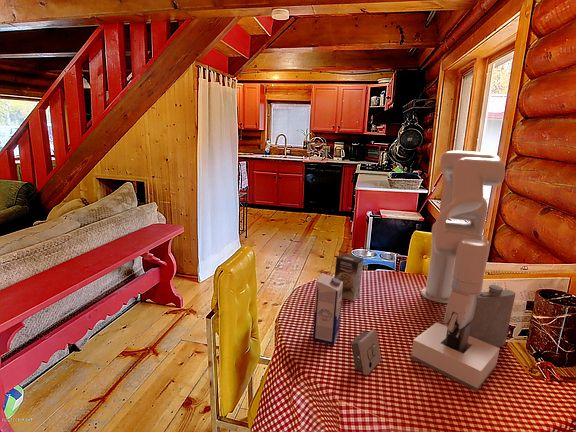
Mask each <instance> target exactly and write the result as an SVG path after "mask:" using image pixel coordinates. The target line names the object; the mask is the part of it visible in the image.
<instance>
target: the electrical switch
mask: <svg viewBox="0 0 576 432" xmlns="http://www.w3.org/2000/svg"><path fill="white" fill-rule="evenodd" d="M350 347H351V352H352V358H353V363H354V369H355V370H357V371H360V372H362V374H363V375H364V376H368V375H369V374H370V373H371V372H373V370H374V368H376V367H377V366H378V364H380V362H381V361H382V357H381V356H382V354H381V351H380V345H379V338H378V332H377V330H376V329H371V330H370V331H362V332H361V333H360V334H359V335H357V336H356V337H355V338H354V339H353V340H352V341H351V342H350Z"/></svg>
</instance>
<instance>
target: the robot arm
mask: <svg viewBox="0 0 576 432" xmlns="http://www.w3.org/2000/svg"><path fill="white" fill-rule="evenodd" d="M503 161H504V160H502V158H501V157H500V156H498V155H497V154H496V153H495V152H494V153H493V152H481V151H468V150H467V151H466V150H449V151H448V150H447V151H446V152H444V153H442V155H441V157H440V164H439V165H440V170H441V174H442V177H443V178H442V179H443V183H442V184H443V185H442V191H441V197H440V203H439V213H438V215H437V216H436V217H437V218H436V221H435V222H434V223H433V224H432V227H431V250H430V256H429V257H430V258H429V265H428V271H427V272H428V273H427V277H426V278H427V279H426V284H425V285H426V286H425V287H424V288H422V289H421V293H420V294H421V295H422V296H423V298H425V299H427V300H428V301H432V302H435V303H440V304H447V305H446V309H445V314H444V318H443V323H445V324H448V322H449V321H450V323H449V326H448V325H447V327H448V328H447V330H448V338H447V344H446V345H447V346H448V347H450V348H452V349H455V350H459V345H460V339H461V337H460V333H461V329H462V328H463V327H465V326H466V325H467V324H468V323H469V322H470V321H471V320H472V319H473V317H474V314H475V310H476V304H477V296H478V295H480V294H481V292H482V290H483V284H484V278H485V273H486V269H487V262H488V257H489V251H490V241H489V240H488V238H487V237H486V236H485V235H483V234H484V233H483V232H484V228H485V223H486V220H487V219H486V218H487V214H488V202H487V200H486V198H484V186H487V187H488V186H489V187H491V186H492V187H498V186H500V185H501V184H502V183H503V182H504V180H505V178H506V177H505V176H506V167H505V163H504V162H503ZM450 219H451V220H450ZM455 220H456V221H455ZM457 220H458V221H457ZM459 220H460V221H459ZM465 221H467V222H465ZM456 323H457V324H459V325H456ZM454 328H458V331H456V330H455V329H454Z"/></svg>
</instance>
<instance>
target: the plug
mask: <svg viewBox="0 0 576 432" xmlns="http://www.w3.org/2000/svg"><path fill="white" fill-rule="evenodd" d="M449 323H450V321H449V322H448V323H447V327H448V326H449ZM456 325H459V324H457V323H456ZM470 326H471V323H468V324H467V325H466V326H465V327H463V328H462V329H461V333H460V337H461V339H460V345H459V350H456V351H459V352H461V353H463V354H464V353H465V352H466V348H467V343H468V337H469V332H470ZM454 329H455V330H456V331H458V328H454ZM447 338H448V330H447V335H446V341H445V346H447V345H446V344H447ZM454 350H455V349H454Z"/></svg>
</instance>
